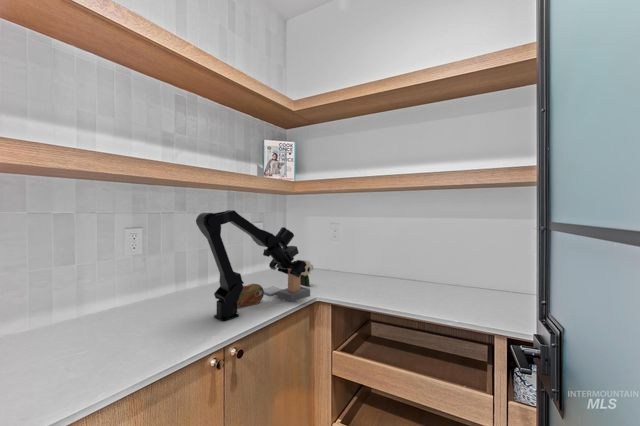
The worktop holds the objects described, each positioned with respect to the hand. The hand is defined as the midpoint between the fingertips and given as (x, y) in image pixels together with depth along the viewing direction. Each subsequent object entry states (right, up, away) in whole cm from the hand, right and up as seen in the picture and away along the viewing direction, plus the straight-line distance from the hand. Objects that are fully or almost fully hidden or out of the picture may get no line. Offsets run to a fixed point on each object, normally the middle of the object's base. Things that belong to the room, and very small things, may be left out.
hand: (296, 275), depth 126 cm
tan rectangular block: (-1, -7, -1) cm, 7 cm away
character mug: (+2, -9, +16) cm, 18 cm away
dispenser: (-1, -9, -1) cm, 9 cm away
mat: (-12, -9, +6) cm, 16 cm away
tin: (-20, -9, -13) cm, 25 cm away
